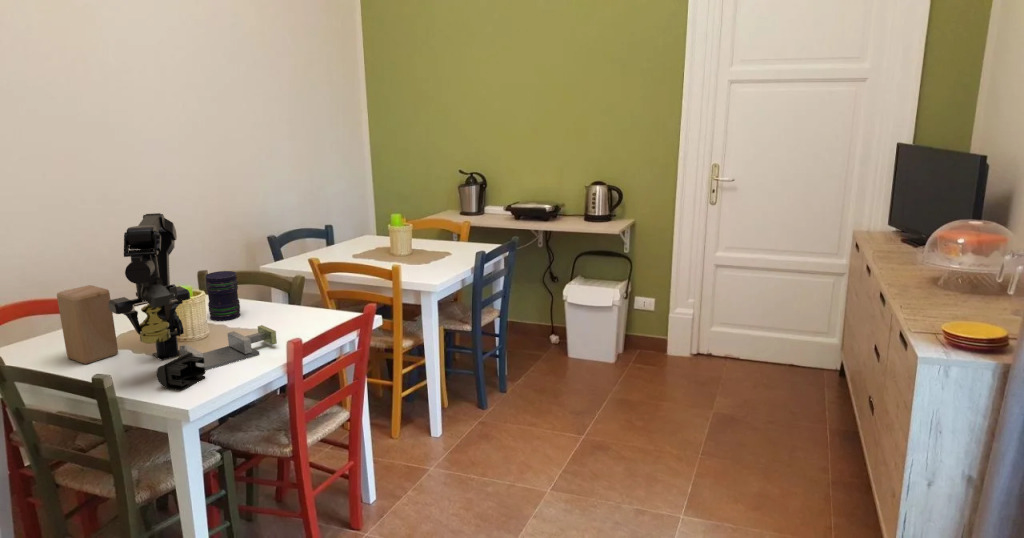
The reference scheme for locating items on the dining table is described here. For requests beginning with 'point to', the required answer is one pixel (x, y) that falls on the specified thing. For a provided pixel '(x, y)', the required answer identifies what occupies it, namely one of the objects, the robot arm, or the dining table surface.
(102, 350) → the wooden block
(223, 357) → the vise bed
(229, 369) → the dining table surface
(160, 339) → the olive finial
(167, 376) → the end cap
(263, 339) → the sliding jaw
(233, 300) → the storage jar
